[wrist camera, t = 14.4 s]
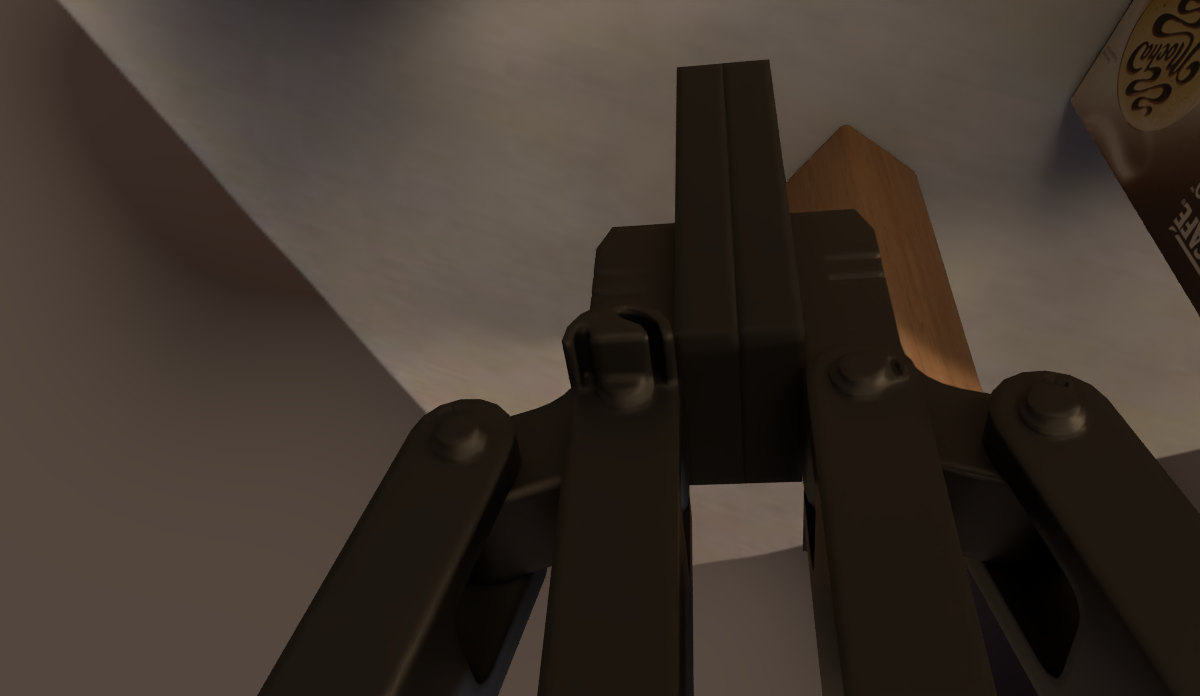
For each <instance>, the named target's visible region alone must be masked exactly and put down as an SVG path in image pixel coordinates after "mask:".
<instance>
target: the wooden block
mask: <svg viewBox="0 0 1200 696" xmlns="http://www.w3.org/2000/svg"><path fill="white" fill-rule="evenodd" d="M786 190H787V198H788V205H789V213H800V212H815V211H830V210H845V209H855V210H856V211H857V212H858V213H859V214H860V215H861V216H862V217H863V218H864V219H865V220H866V221H867V222H868V223H869V224H870V225H871V226H872V227H873V228H874V230H875V235H876V239H877V243H878V247H879V252H880V258H881V260H882V265H883V269H884V277H886V282H887V286H888V290H889V294H890V299H891V303H892V307H893V312H894V316H895V320H896V324H897V329H898V333H899V337H900V341H901V345H902V348H903V350H904V353H905V355H907V356H908V357H909V358H910V359H912V361H913V363H914V365H915V367H916V368H917V369H919V370H920V371H921V372H923V373H924V374H925V375H927V376H928V377H931V378H933V379H935V380H937V381H939V382H941V383H944V384H947V385H951V386H954V387H958V388H962V389H968V390H973V391H978V392H982V389H981V386H980V383H979V379H978V376H977V373H976V369H975V366H974V363H973V360H972V356H971V353H970V350H969V346H968V343H967V340H966V337H965V333H964V330H963V327H962V324H961V320H960V317H959V314H958V310H957V307H956V304H955V301H954V297H953V294H952V291H951V287H950V284H949V281H948V277H947V274H946V271H945V267H944V264H943V261H942V258H941V254H940V251H939V248H938V244H937V241H936V238H935V234H934V231H933V228H932V225H931V221H930V218H929V215H928V212H927V208H926V205H925V202H924V199H923V195H922V192H921V189H920V186H919V182H918V179H917V176H916V174H915V172H914V171H913V170H912V169H910V168H909V167H908V166H906V165H905V164H903V163H902V162H901V161H899V160H898V159H896V158H895V157H893V156H892V155H891V154H889V153H888V152H886V151H885V150H884V149H882V148H881V147H879V146H878V145H876V144H875V143H874V142H872V141H871V140H869V139H868V138H867V137H865V136H864V135H862V134H861V133H859V132H858V131H857V130H855V129H854V128H852V127H850V126H847V125H844V126H842V127H841V128H840V129H839V130H838V131H837V132H836V133H835V134H834V135H833V136H832V137H831V138H830V139H829V140H828V141H827V142H826V143H825V144H824V145H823V146H822V147H821V148H820V149H819V150H818V151H817V152H816V153H815V154H814V155H813V156H812V157H811V158H810V159H809V160H808V161H807V162H806V163H805V164H804V165H803V166H802V167H801V168H800V169H799V170H798V171H797V172H796V173H795V174H794V175H793V176H792V177H791V179H790V180H789V181H788V182H787V183H786Z"/></svg>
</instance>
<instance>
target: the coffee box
mask: <svg viewBox="0 0 1200 696" xmlns="http://www.w3.org/2000/svg"><path fill="white" fill-rule="evenodd" d="M1071 104H1072V106H1073V107H1074V109H1075V110H1076V112H1077V113H1078V115H1079V117H1080V118H1081V120H1082V122H1083V123H1084V125H1085V127H1086V129H1087V130H1088V132H1089V133H1090V135H1091V137H1092V138H1093V140H1094V142H1095V143H1096V145H1097V146H1098V148H1099V150H1100V152H1101V154H1102V155H1103V157H1104V159H1105V160H1106V162H1107V164H1108V165H1109V167H1110V169H1111V170H1112V172H1113V174H1114V175H1115V177H1116V179H1117V180H1118V182H1119V183H1120V185H1121V187H1122V188H1123V190H1124V191H1125V193H1126V195H1127V197H1128V198H1129V200H1130V202H1131V203H1132V205H1133V207H1134V208H1135V210H1136V211H1137V213H1138V215H1139V217H1140V218H1141V220H1142V221H1143V224H1144V225H1145V227H1146V229H1147V231H1148V232H1149V233H1150V235H1151V237H1152V238H1153V240H1154V241H1155V243H1156V245H1157V246H1158V248H1159V250H1160V251H1161V253H1162V254H1163V256H1164V258H1165V260H1166V262H1167V263H1168V265H1169V267H1170V268H1171V270H1172V271H1173V273H1174V275H1175V276H1176V278H1177V280H1178V282H1179V283H1180V285H1181V286H1182V288H1183V290H1184V291H1185V293H1186V295H1187V296H1188V298H1189V299H1190V301H1191V303H1192V305H1193V306H1194V308H1195V309H1196V311H1197V313H1198V315H1199V316H1200V0H1133V2H1132V3H1131V5H1130V7H1129V8H1128V10H1127V11H1126V13H1125V15H1124V16H1123V18H1122V19H1121V21H1120V23H1119V24H1118V26H1117V27H1116V29H1115V31H1114V32H1113V34H1112V35H1111V37H1110V38H1109V40H1108V42H1107V43H1106V45H1105V46H1104V48H1103V49H1102V51H1101V53H1100V54H1099V56H1098V57H1097V59H1096V61H1095V62H1094V64H1093V65H1092V67H1091V68H1090V70H1089V72H1088V73H1087V75H1086V76H1085V78H1084V80H1083V81H1082V83H1081V84H1080V86H1079V87H1078V89H1077V91H1076V92H1075V94H1074V95H1073V97H1072V99H1071Z"/></svg>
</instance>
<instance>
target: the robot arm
mask: <svg viewBox="0 0 1200 696" xmlns="http://www.w3.org/2000/svg"><path fill="white" fill-rule="evenodd" d="M562 345H563V350H564V355H565V359H566V364H567V369H568V374H569V379H570V384H571V388H570V389H569V390H568V391H567V392H566V393H565V394H564V395H563V396H561V397H559V398H558V399H556V400H555V401H553V402H551V403H549V404H547V405H544V406H542V407H539V408H537V409H534V410H530V411H527V412H524V413H520V414H517V415H513V416H509V414H507V413H506V412H505V411H504V410H503V409H502V408H501V407H500V406H498V405H497V404H494V403H491V402H488V401H485V400H481V399H460V400H457V401H454V402H450V403H447V404H443V405H440V406H439V407H437V408H435V409H434V410H432V411H431V412H429V413H427V414H426V415H424V416H423V417H422V418H421V419H420V420H419V422H418V423H417V424H416V425H415V426H414V427H413V429H412V430H411V431H410V433H409V435H408V436H407V438H406V440H405V442H404V443H403V445H402V447H401V449H400V450H399V452H398V454H397V455H396V457H395V459H394V461H393V462H392V464H391V466H390V468H389V469H388V471H387V473H386V475H385V476H384V478H383V480H382V481H381V483H380V485H379V487H378V488H377V490H376V492H375V493H374V495H373V497H372V499H371V500H370V502H369V504H368V505H367V507H366V509H365V511H364V512H363V514H362V516H361V518H360V519H359V521H358V523H357V525H356V526H355V528H354V530H353V531H352V533H351V535H350V537H349V538H348V540H347V542H346V543H345V545H344V547H343V549H342V550H341V552H340V554H339V556H338V557H337V559H336V561H335V562H334V564H333V566H332V568H331V569H330V571H329V573H328V575H327V576H326V578H325V580H324V581H323V583H322V585H321V587H320V588H319V590H318V592H317V593H316V595H315V597H314V599H313V600H312V602H311V604H310V606H309V607H308V609H307V611H306V613H305V614H304V616H303V618H302V619H301V621H300V623H299V625H298V626H297V628H296V630H295V631H294V633H293V635H292V637H291V639H290V640H289V642H288V644H287V645H286V647H285V649H284V650H283V652H282V654H281V656H280V657H279V659H278V661H277V662H276V664H275V666H274V668H273V669H272V671H271V673H270V675H269V676H268V678H267V680H266V681H265V683H264V685H263V687H262V688H261V690H260V692H259V694H258V695H257V696H498V694H499V691H500V689H501V687H502V684H503V681H504V679H505V676H506V674H507V672H508V669H509V666H510V664H511V661H512V659H513V656H514V654H515V651H516V649H517V646H518V644H519V641H520V639H521V636H522V634H523V631H524V629H525V626H526V624H527V621H528V619H529V616H530V614H531V611H532V609H533V606H534V604H535V601H536V599H537V596H538V594H539V591H540V589H541V586H542V584H543V581H544V579H545V576H546V572H547V567H550V566H552V570H551V578H550V587H549V596H548V606H547V614H546V623H545V632H544V641H543V650H542V658H541V667H540V677H539V685H538V695H537V696H694V683H693V680H694V678H693V580H692V515H691V505H690V496H689V485H711V484H742V483H773V482H802V475H803V484H804V518H803V551H807V552H808V562H809V571H810V581H811V591H812V600H813V610H814V619H815V629H816V638H817V648H818V658H819V667H820V677H821V686H822V695H823V696H997V694H996V690H995V686H994V681H993V677H992V673H991V669H990V665H989V661H988V657H987V652H986V648H985V644H984V640H983V636H982V632H981V628H980V624H979V619H978V615H977V611H976V607H975V603H974V599H973V594H972V590H971V586H970V582H969V578H968V574H967V570H966V565H965V561H966V564H967V566H968V568H969V570H970V572H971V573H972V575H973V577H974V579H975V581H976V583H977V584H978V586H979V588H980V590H981V592H982V594H983V595H984V597H985V599H986V601H987V603H988V604H989V606H990V608H991V610H992V612H993V613H994V615H995V617H996V619H997V621H998V623H999V624H1000V626H1001V628H1002V630H1003V632H1004V634H1005V635H1006V637H1007V639H1008V641H1009V643H1010V645H1011V646H1012V648H1013V650H1014V652H1015V654H1016V655H1017V657H1018V659H1019V661H1020V663H1021V664H1022V666H1023V668H1024V670H1025V672H1026V673H1027V675H1028V677H1029V679H1030V681H1031V683H1032V685H1033V686H1034V688H1035V690H1036V692H1037V694H1038V695H1039V696H1200V514H1199V513H1198V511H1197V510H1196V509H1195V508H1194V506H1193V505H1192V504H1191V503H1190V501H1189V500H1188V499H1187V498H1186V497H1185V495H1184V494H1183V493H1182V491H1181V490H1180V489H1179V488H1178V486H1177V485H1176V484H1175V483H1174V481H1173V480H1172V479H1171V478H1170V476H1169V475H1168V474H1167V473H1166V471H1165V470H1164V469H1163V468H1162V466H1161V465H1160V464H1159V463H1158V461H1157V460H1156V459H1155V458H1154V456H1153V455H1152V454H1151V453H1150V451H1149V450H1148V449H1147V448H1146V446H1145V445H1144V444H1143V443H1142V441H1141V440H1140V439H1139V438H1138V436H1137V435H1136V434H1135V433H1134V431H1133V430H1132V429H1131V428H1130V426H1129V425H1128V424H1127V423H1126V421H1125V420H1124V419H1123V418H1122V416H1121V415H1120V414H1119V413H1118V411H1117V410H1116V409H1115V408H1114V406H1113V405H1112V404H1111V403H1110V401H1109V400H1108V399H1107V398H1106V397H1105V396H1104V395H1102V394H1101V393H1100V392H1099V391H1098V390H1097V389H1095V388H1094V387H1093V386H1092V385H1090V384H1088V383H1086V382H1084V381H1082V380H1079V379H1077V378H1075V377H1073V376H1071V375H1067V374H1061V373H1056V372H1050V371H1034V372H1022V373H1020V374H1017V375H1015V376H1012V377H1010V378H1007V379H1004V380H1003V381H1002V382H1001V383H1000V384H999V385H998V386H997V387H996V388H995V389H994V390H993V391H992V394H988V393H983V392H978V391H973V390H968V389H962V388H958V387H954V386H951V385H947V384H944V383H941V382H939V381H937V380H935V379H933V378H931V377H928V376H927V375H925V374H924V373H923V372H921V371H920V370H919V369H917V368H916V367H915V365H914V363H913V361H912V359H910V358H909V357H908V356H907V355H905V353H904V350H903V348H902V345H901V341H900V337H899V333H898V329H897V324H896V320H895V316H894V312H893V307H892V303H891V299H890V294H889V290H888V286H887V282H886V277H884V269H883V265H882V260H881V258H880V252H879V247H878V243H877V239H876V235H875V230H874V228H873V227H872V226H871V225H870V224H869V223H868V222H867V221H866V220H865V219H864V218H863V217H862V216H861V215H860V214H859V213H858V212H857V211H856V210H855V209H845V210H830V211H815V212H800V213H789V205H788V198H787V190H786V182H785V175H784V167H783V160H782V152H781V145H780V137H779V129H778V122H777V114H776V107H775V99H774V92H773V84H772V76H771V69H770V61H769V60H758V61H746V62H734V63H723V64H711V65H700V66H688V67H677V103H676V188H675V223H669V224H654V225H639V226H623V227H612V228H611V230H610V231H609V233H608V234H607V235H606V237H605V238H604V239H603V241H602V242H601V243H600V245H599V246H598V248H597V249H596V257H595V266H594V277H593V285H592V297H591V304H590V310H588V311H586V312H584V313H582V314H580V315H579V316H578V317H577V318H576V319H575V320H574V321H573V322H572V323H571V324H570V325H569V326H568V327H567V329H566V332H565V334H564V336H563V339H562ZM963 556H964V558H965V561H964V558H963Z"/></svg>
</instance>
